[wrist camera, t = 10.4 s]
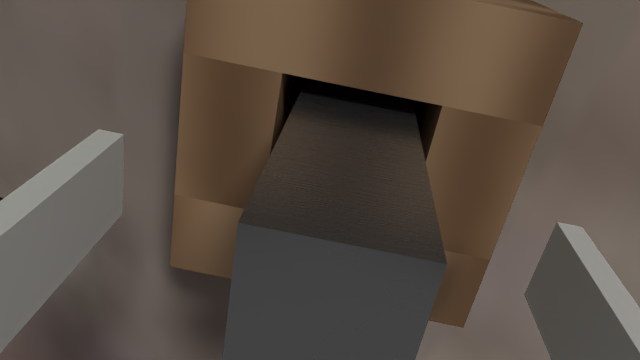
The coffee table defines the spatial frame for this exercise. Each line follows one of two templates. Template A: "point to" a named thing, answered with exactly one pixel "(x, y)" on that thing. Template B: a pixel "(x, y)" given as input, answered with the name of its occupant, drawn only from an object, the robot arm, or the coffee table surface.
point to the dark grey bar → (337, 236)
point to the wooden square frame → (377, 76)
